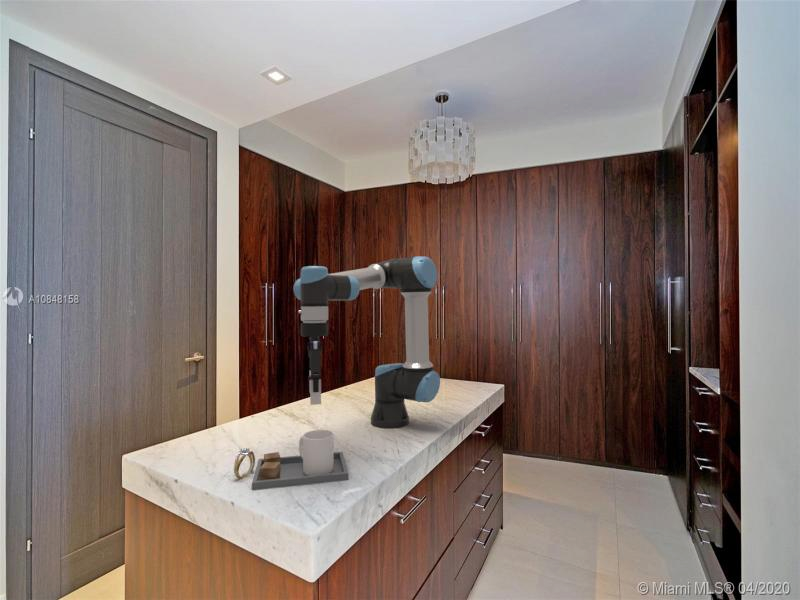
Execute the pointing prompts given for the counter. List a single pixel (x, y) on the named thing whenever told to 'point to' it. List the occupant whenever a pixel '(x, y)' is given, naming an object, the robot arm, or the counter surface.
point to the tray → (299, 473)
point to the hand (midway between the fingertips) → (314, 398)
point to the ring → (237, 463)
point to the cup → (317, 452)
